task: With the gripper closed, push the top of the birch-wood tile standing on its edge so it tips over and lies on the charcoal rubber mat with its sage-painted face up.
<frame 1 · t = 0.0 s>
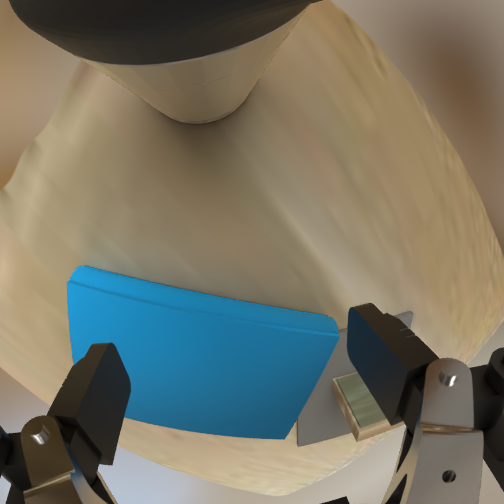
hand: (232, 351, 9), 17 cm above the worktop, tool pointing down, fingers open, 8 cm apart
mat: (350, 389, 35), on the worktop
tile: (354, 377, 33), point 1 cm above the worktop, touching mat
book: (193, 356, 30), on the worktop, touching mat
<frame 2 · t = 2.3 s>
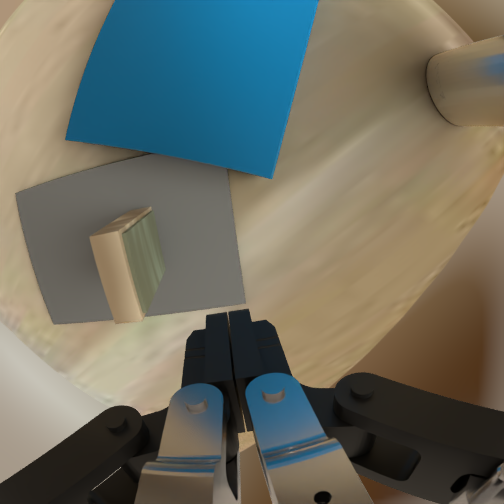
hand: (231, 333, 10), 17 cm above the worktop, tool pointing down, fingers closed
mat: (119, 244, 26), on the worktop
tile: (147, 241, 25), point 1 cm above the worktop, touching mat
book: (209, 31, 20), on the worktop, touching mat
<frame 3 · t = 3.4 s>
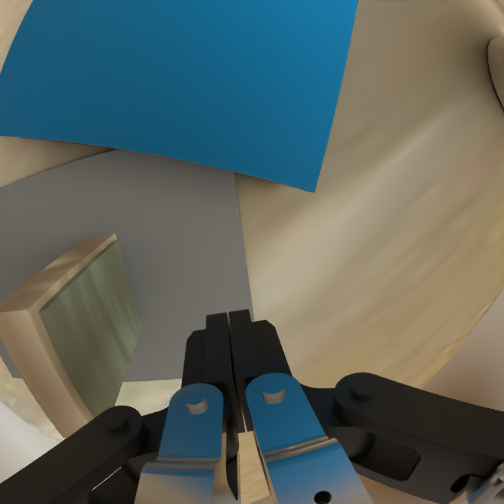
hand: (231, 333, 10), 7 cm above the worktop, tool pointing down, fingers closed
mat: (76, 286, 16), on the worktop
tile: (112, 285, 16), point 1 cm above the worktop, touching mat
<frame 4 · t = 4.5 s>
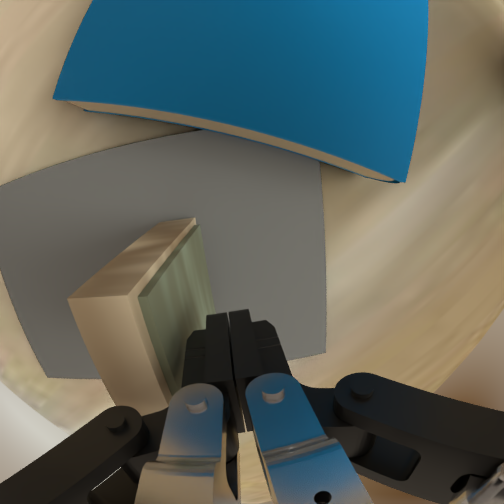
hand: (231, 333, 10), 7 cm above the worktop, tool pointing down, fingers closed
mat: (140, 274, 17), on the worktop
tile: (187, 272, 16), point 1 cm above the worktop, tilted 7°, touching mat
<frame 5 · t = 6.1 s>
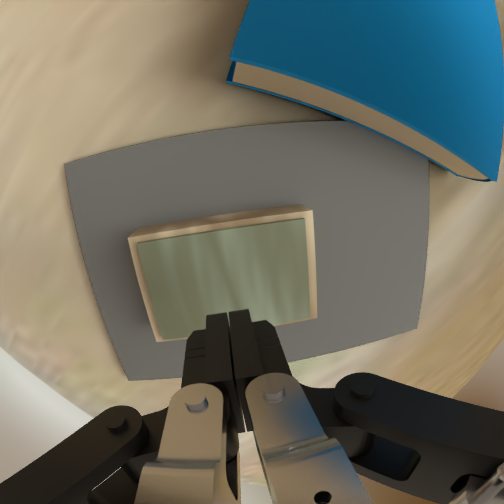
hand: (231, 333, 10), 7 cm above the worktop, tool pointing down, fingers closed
mat: (271, 257, 17), on the worktop
tile: (310, 261, 16), point 2 cm above the worktop, tilted 90°, touching mat
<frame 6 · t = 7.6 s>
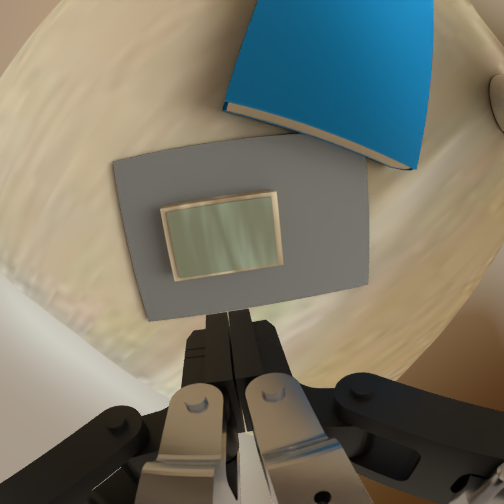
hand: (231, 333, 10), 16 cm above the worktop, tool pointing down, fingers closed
mat: (252, 225, 25), on the worktop
tile: (277, 226, 24), point 2 cm above the worktop, tilted 90°, touching mat
book: (343, 28, 21), on the worktop, touching mat
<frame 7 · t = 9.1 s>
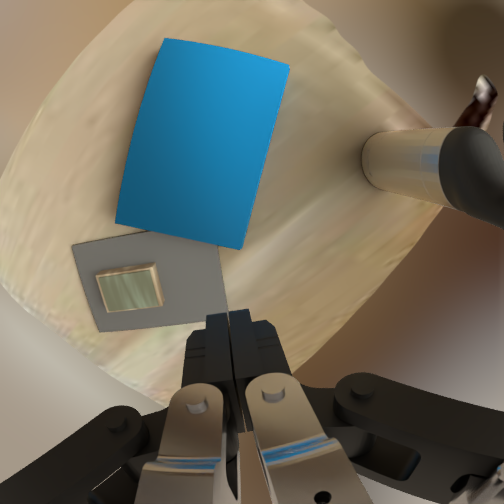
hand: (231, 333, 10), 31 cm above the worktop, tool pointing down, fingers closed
mat: (148, 281, 41), on the worktop
tile: (158, 284, 40), point 2 cm above the worktop, tilted 90°, touching mat
book: (202, 140, 36), on the worktop, touching mat
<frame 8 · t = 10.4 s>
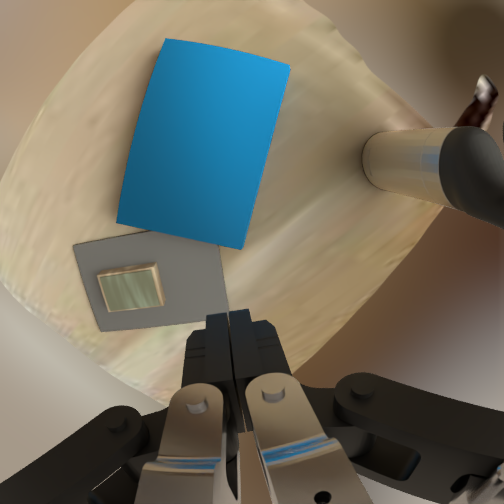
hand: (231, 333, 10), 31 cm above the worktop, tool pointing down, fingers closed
mat: (149, 281, 42), on the worktop
tile: (160, 284, 40), point 2 cm above the worktop, tilted 90°, touching mat
book: (203, 141, 37), on the worktop, touching mat
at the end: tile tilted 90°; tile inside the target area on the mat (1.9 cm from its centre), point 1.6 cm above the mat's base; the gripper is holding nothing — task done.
